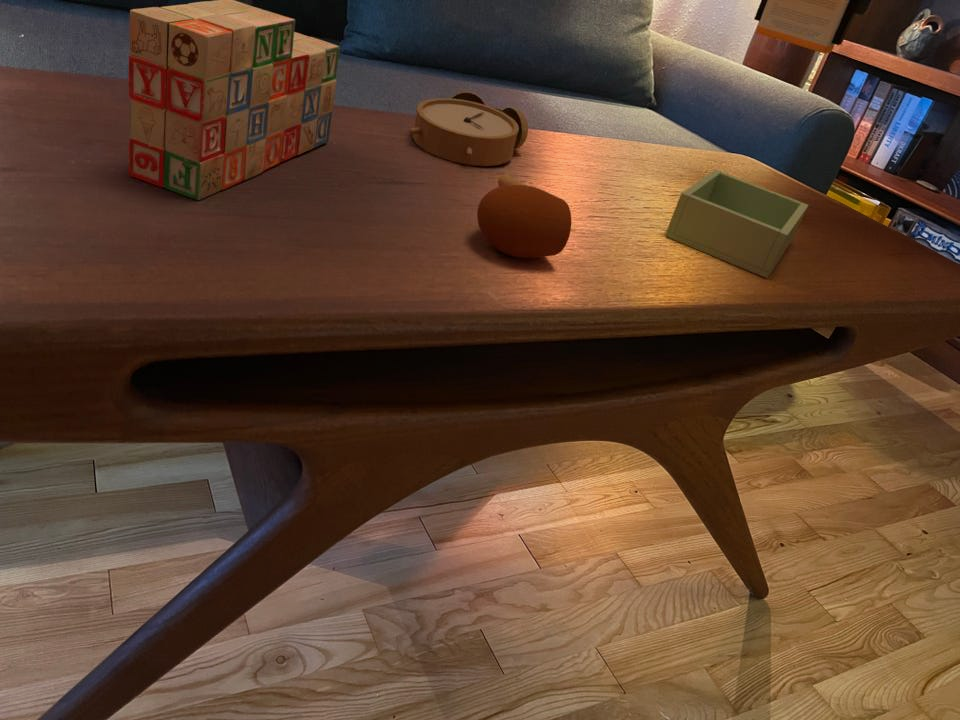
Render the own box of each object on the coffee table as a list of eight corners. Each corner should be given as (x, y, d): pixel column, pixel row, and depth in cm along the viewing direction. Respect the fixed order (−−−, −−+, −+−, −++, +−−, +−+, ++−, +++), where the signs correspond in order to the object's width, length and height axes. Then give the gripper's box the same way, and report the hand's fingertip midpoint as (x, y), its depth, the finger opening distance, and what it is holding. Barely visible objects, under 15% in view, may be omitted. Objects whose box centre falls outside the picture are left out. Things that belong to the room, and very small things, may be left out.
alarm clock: (394, 111, 81) (466, 73, 92) (391, 154, 84) (460, 113, 95) (488, 148, 78) (551, 105, 89) (480, 191, 81) (542, 145, 92)
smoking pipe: (476, 261, 62) (493, 193, 59) (454, 178, 77) (467, 120, 74) (561, 275, 63) (582, 209, 60) (523, 191, 79) (538, 135, 76)
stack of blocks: (273, 124, 78) (286, -8, 72) (329, 143, 77) (347, 12, 71) (127, 175, 60) (127, 5, 53) (198, 202, 59) (207, 32, 53)
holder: (790, 244, 85) (809, 204, 83) (766, 278, 74) (787, 234, 72) (699, 207, 88) (715, 169, 86) (664, 236, 77) (681, 192, 75)
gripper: (787, -239, 77) (701, 5, 89) (1014, -197, 70) (888, 62, 82) (800, -221, 83) (718, 5, 95) (1010, -180, 76) (894, 59, 88)
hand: (797, 31), depth 88 cm, fingers closed on supplement box, 8 cm apart
